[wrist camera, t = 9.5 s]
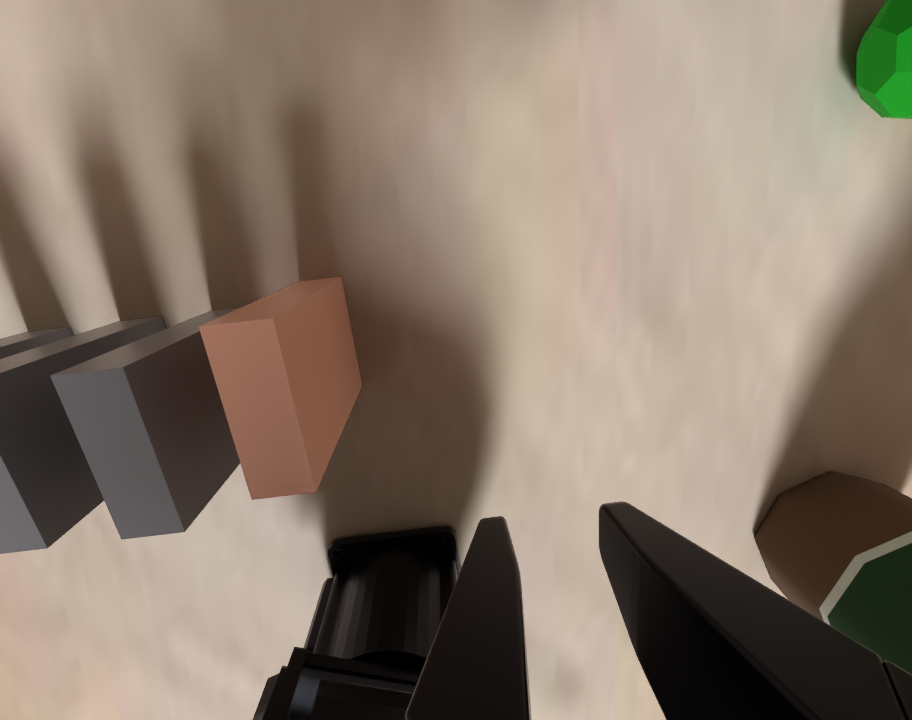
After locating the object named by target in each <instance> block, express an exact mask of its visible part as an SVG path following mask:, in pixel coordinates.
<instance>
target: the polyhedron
mask: <svg viewBox="0 0 912 720" xmlns="http://www.w3.org/2000/svg"><path fill="white" fill-rule="evenodd" d="M856 86H857V88H858V91H859V94H860V97H861V99H862V100H863V101H864V102H866V103H867V104H868V105H869V106H870V107H871V108H872V109H873V110H874V111H876V112H877V113H878V114H879V115H880V116H881V117H886V118H903V119H912V0H886V1H885V3H884V4H883V6H882V8H881V9H880V11H879V12H878V14H877V15H876V17H875V19H874V20H873V22H872V23H871V25H870V26H869V28H868V29H867V31H866V33H865V34H864V36H863V37H862V40H861V43H860V46H859V48H858V51H857V60H856Z"/></svg>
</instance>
